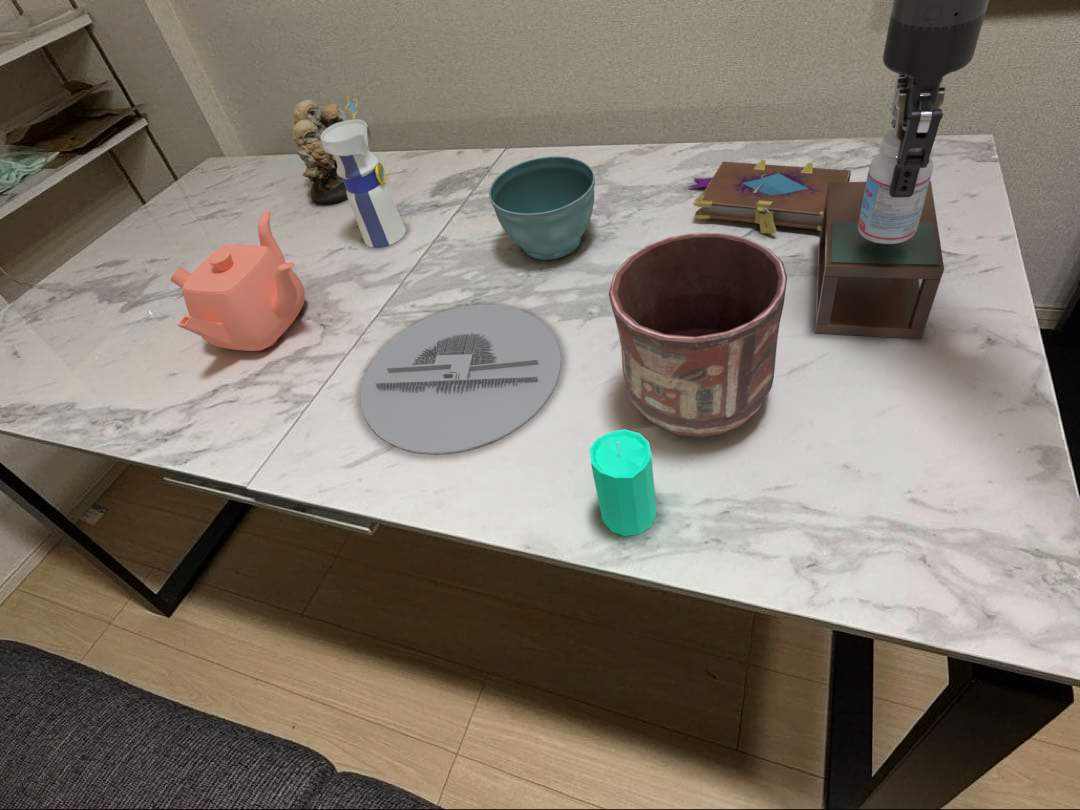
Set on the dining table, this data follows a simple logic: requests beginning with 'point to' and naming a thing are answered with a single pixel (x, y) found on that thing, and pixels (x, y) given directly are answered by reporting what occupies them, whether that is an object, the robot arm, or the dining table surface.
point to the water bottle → (363, 180)
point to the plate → (460, 379)
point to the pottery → (699, 330)
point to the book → (767, 194)
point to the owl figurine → (318, 150)
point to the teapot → (242, 294)
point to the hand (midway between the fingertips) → (898, 177)
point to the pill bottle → (891, 198)
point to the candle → (624, 481)
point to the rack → (874, 271)
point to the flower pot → (545, 204)
